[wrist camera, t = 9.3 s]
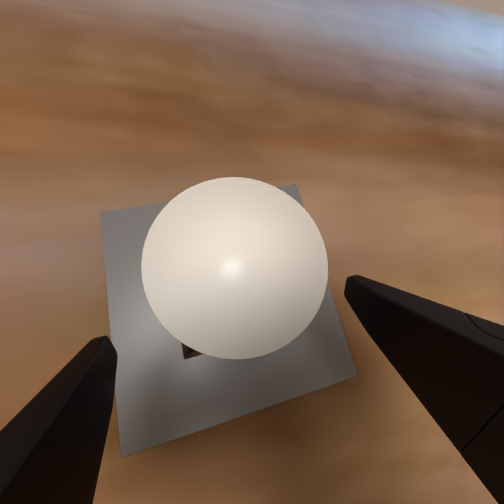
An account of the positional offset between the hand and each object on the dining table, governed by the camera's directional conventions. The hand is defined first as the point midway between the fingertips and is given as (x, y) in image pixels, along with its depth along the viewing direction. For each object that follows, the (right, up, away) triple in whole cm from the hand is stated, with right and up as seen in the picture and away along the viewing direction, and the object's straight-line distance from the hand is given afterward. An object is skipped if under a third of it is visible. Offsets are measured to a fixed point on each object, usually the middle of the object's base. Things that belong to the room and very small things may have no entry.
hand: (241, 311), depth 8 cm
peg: (-2, -1, +9) cm, 9 cm away
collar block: (-2, -1, +9) cm, 9 cm away
